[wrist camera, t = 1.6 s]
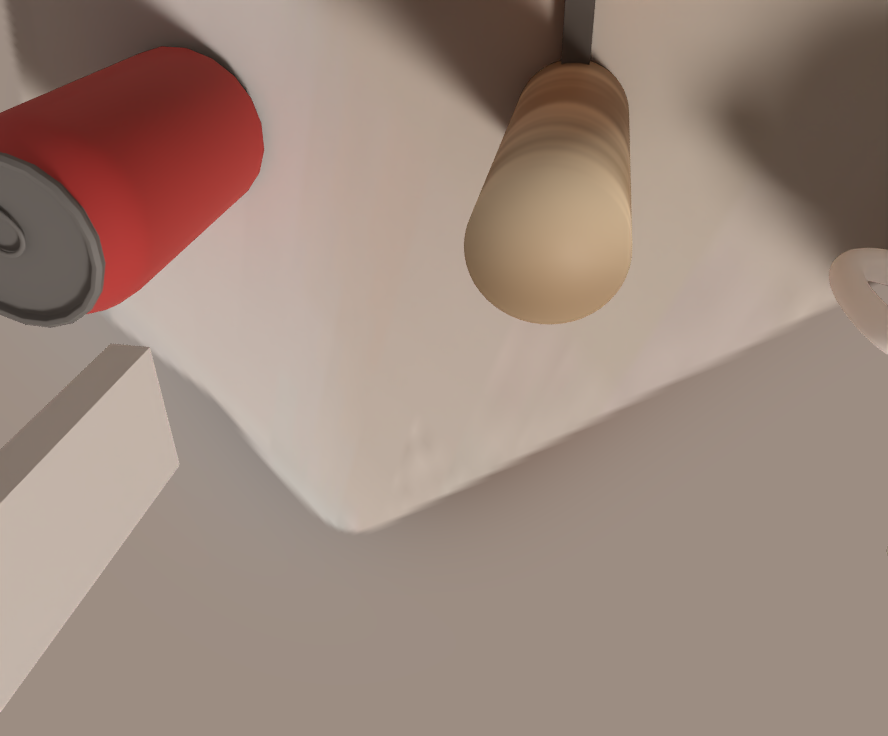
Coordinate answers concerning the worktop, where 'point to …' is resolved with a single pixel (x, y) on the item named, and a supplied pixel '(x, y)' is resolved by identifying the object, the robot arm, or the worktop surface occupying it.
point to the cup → (862, 291)
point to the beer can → (117, 180)
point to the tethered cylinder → (558, 191)
